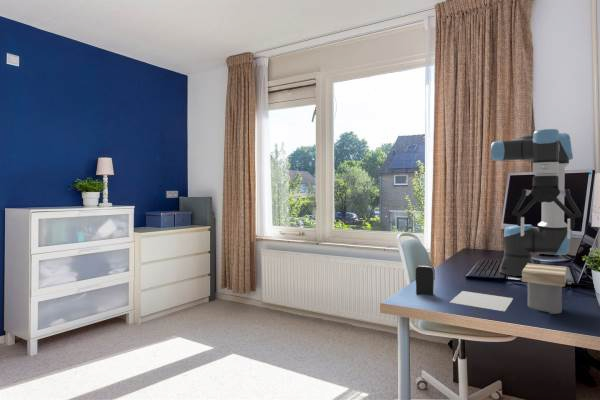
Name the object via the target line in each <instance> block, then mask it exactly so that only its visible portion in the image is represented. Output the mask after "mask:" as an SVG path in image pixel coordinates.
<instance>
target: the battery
mask: <svg viewBox="0 0 600 400" xmlns="http://www.w3.org/2000/svg"><path fill="white" fill-rule="evenodd" d="M435 280H436V271H435V268H434V267H433V266H431V265H421V264H420V265H418V266H416V267H415V294H416V295H419V296H420V295H426V296H434V295H435Z"/></svg>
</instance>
